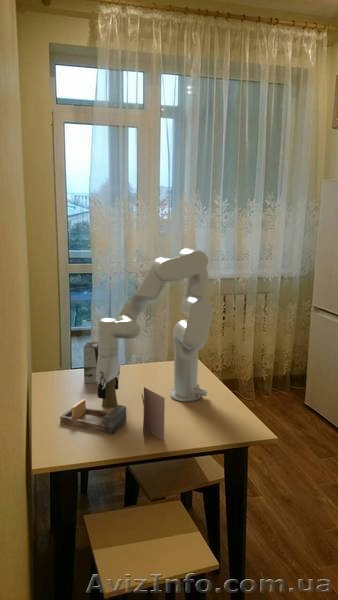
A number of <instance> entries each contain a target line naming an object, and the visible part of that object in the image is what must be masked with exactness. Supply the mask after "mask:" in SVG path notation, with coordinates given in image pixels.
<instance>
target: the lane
mask: <svg viewBox="0 0 338 600" xmlns="http://www.w3.org/2000/svg"><path fill="white" fill-rule="evenodd" d="M59 422H60V424H63V425H67V426H71V427H72V426H73V427H76V428H80V429H84V430H85V429H86V430H90V431H93V432H98V433H104V434H107V435H111V436H112V435H114V434H115V433H116V432H117V431H119V429H121V427H123V426H124V425H125V424H126V423H127V405H122V404H121V405H120V404H118V405H117V406H116V407H114V408H112V410H111V411H107V410H102V409H96V408H91V407H87V406H86V413H84V414H83V415H82V416H80V417H79V418H78V419H76V418H72V408H70V409H69V410H67V411H66V412H63V414H61V415H60V417H59Z"/></svg>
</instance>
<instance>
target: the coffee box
mask: <svg viewBox="0 0 338 600" xmlns="http://www.w3.org/2000/svg"><path fill="white" fill-rule="evenodd" d="M98 356H99V355H98V342H97V341H94V342H93V341H92V342H91V341H90V342H86V344H85V345H84V346H83V383H85V384H86V383H87V384H96V383H95V379H96V367H97V359H98Z"/></svg>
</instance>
